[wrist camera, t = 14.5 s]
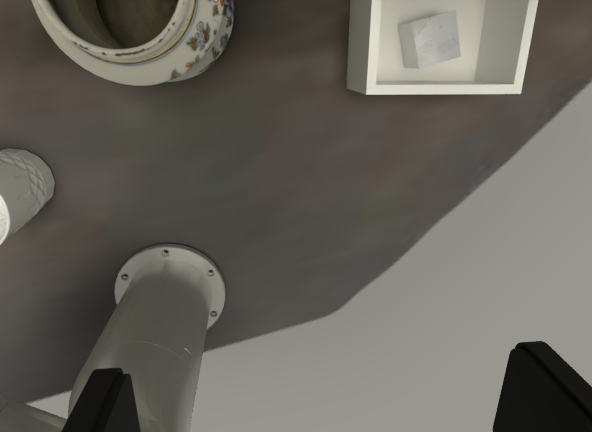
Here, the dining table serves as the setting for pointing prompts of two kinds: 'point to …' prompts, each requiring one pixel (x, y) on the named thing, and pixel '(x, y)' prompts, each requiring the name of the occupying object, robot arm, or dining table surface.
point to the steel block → (429, 40)
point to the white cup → (22, 189)
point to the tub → (449, 74)
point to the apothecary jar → (139, 36)
